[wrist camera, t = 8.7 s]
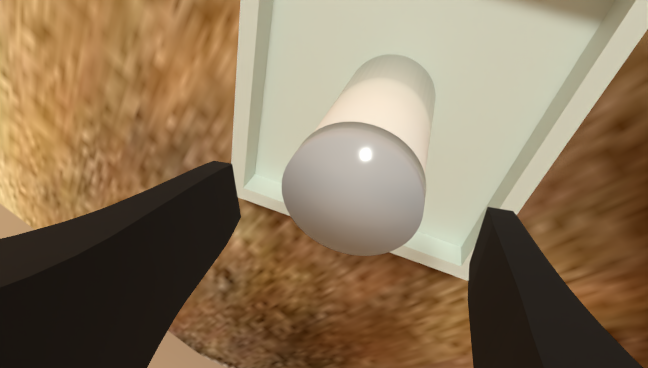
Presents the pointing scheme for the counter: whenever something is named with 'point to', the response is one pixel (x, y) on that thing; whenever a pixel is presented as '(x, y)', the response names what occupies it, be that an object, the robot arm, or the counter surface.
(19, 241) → the robot arm
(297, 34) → the tray
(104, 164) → the counter surface
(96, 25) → the counter surface
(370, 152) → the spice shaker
